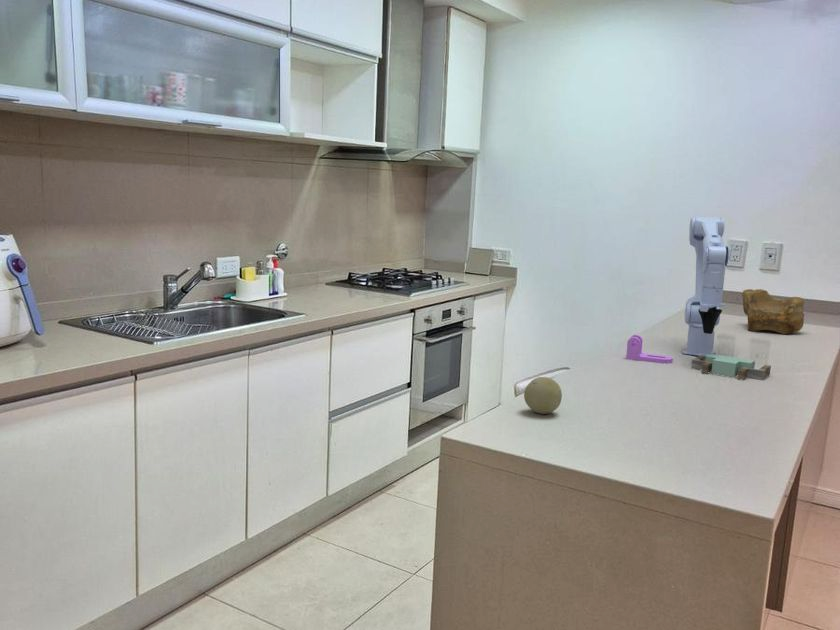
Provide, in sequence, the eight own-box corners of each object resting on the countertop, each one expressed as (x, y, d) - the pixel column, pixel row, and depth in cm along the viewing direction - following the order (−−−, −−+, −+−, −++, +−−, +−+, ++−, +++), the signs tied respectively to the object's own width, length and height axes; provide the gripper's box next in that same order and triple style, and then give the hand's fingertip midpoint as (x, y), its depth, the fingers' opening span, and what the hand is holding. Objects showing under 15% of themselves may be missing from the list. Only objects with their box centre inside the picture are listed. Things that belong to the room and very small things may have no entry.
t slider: (709, 367, 206) (710, 353, 206) (753, 374, 199) (755, 360, 199) (700, 372, 199) (701, 358, 199) (745, 379, 192) (747, 365, 192)
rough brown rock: (723, 329, 274) (727, 292, 270) (744, 322, 284) (748, 286, 280) (785, 342, 256) (789, 302, 253) (805, 334, 266) (809, 295, 263)
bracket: (626, 359, 213) (627, 336, 212) (628, 356, 218) (630, 333, 217) (671, 364, 208) (673, 341, 207) (673, 361, 213) (675, 338, 212)
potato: (535, 405, 162) (537, 371, 161) (566, 413, 157) (568, 378, 156) (517, 412, 156) (519, 377, 155) (549, 420, 151) (551, 384, 150)
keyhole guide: (700, 363, 211) (701, 354, 210) (769, 374, 199) (770, 365, 199) (686, 370, 201) (687, 362, 200) (759, 382, 189) (760, 373, 189)
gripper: (720, 290, 197) (715, 338, 200) (733, 286, 209) (728, 331, 211) (694, 288, 202) (689, 335, 204) (708, 284, 213) (704, 328, 215)
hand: (707, 333), depth 208 cm, fingers closed
